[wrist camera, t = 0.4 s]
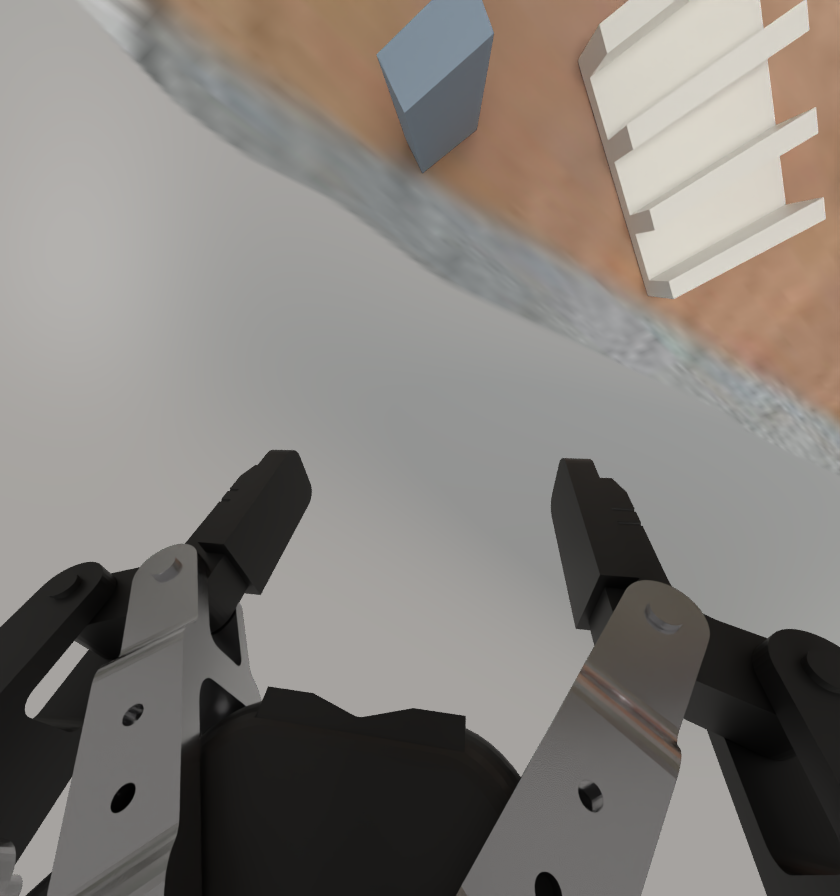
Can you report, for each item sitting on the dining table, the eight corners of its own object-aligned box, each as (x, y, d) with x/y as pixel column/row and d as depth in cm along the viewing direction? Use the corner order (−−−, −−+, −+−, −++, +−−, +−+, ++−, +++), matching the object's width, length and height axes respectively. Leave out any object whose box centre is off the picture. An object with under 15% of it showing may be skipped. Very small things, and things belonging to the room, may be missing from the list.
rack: (647, 295, 30) (673, 299, 27) (577, 60, 24) (599, 24, 20) (777, 225, 27) (825, 219, 24) (736, -67, 21) (795, -135, 17)
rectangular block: (422, 173, 28) (404, 112, 17) (406, 139, 27) (376, 54, 16) (476, 129, 26) (494, 33, 16) (461, 92, 25) (468, -36, 15)
